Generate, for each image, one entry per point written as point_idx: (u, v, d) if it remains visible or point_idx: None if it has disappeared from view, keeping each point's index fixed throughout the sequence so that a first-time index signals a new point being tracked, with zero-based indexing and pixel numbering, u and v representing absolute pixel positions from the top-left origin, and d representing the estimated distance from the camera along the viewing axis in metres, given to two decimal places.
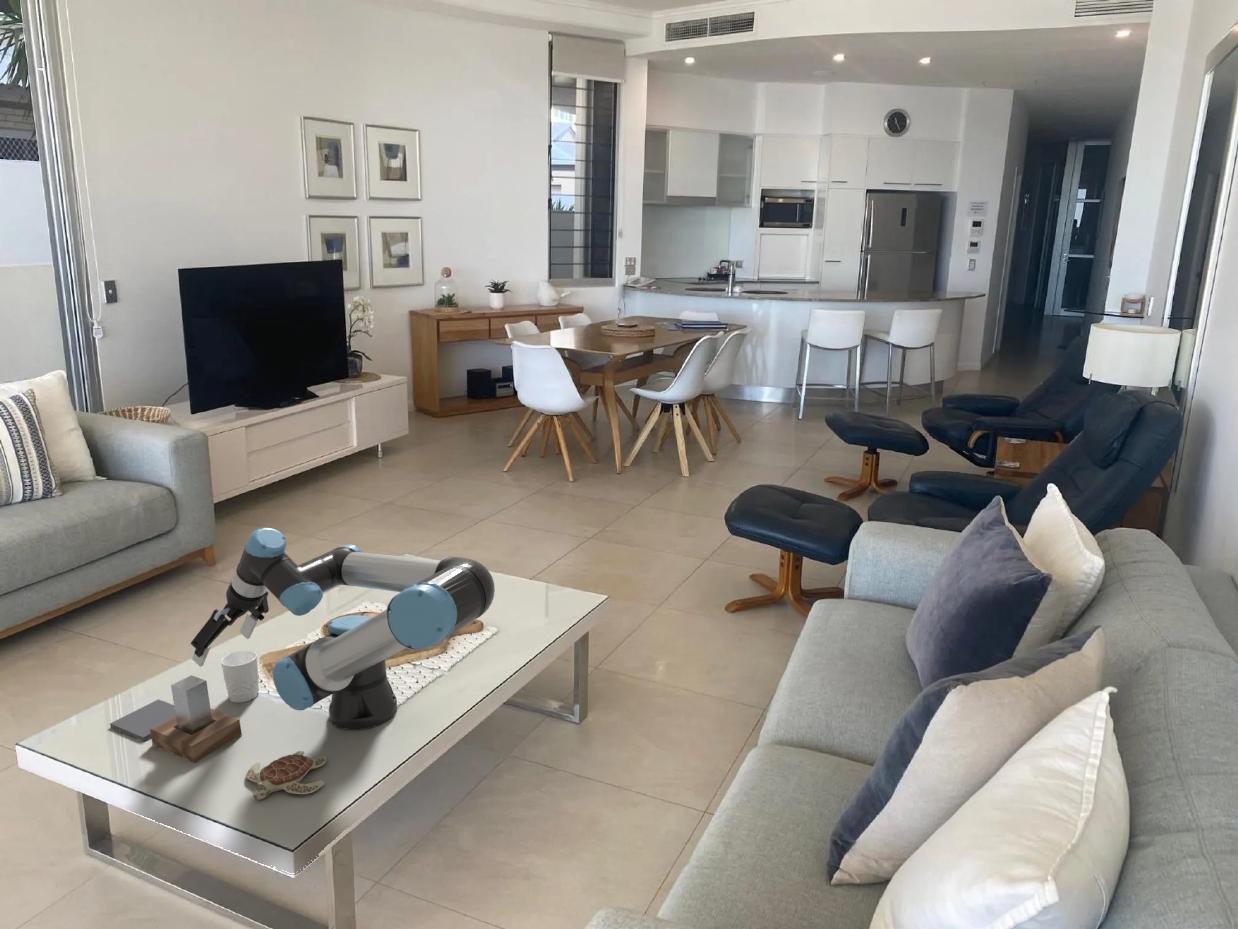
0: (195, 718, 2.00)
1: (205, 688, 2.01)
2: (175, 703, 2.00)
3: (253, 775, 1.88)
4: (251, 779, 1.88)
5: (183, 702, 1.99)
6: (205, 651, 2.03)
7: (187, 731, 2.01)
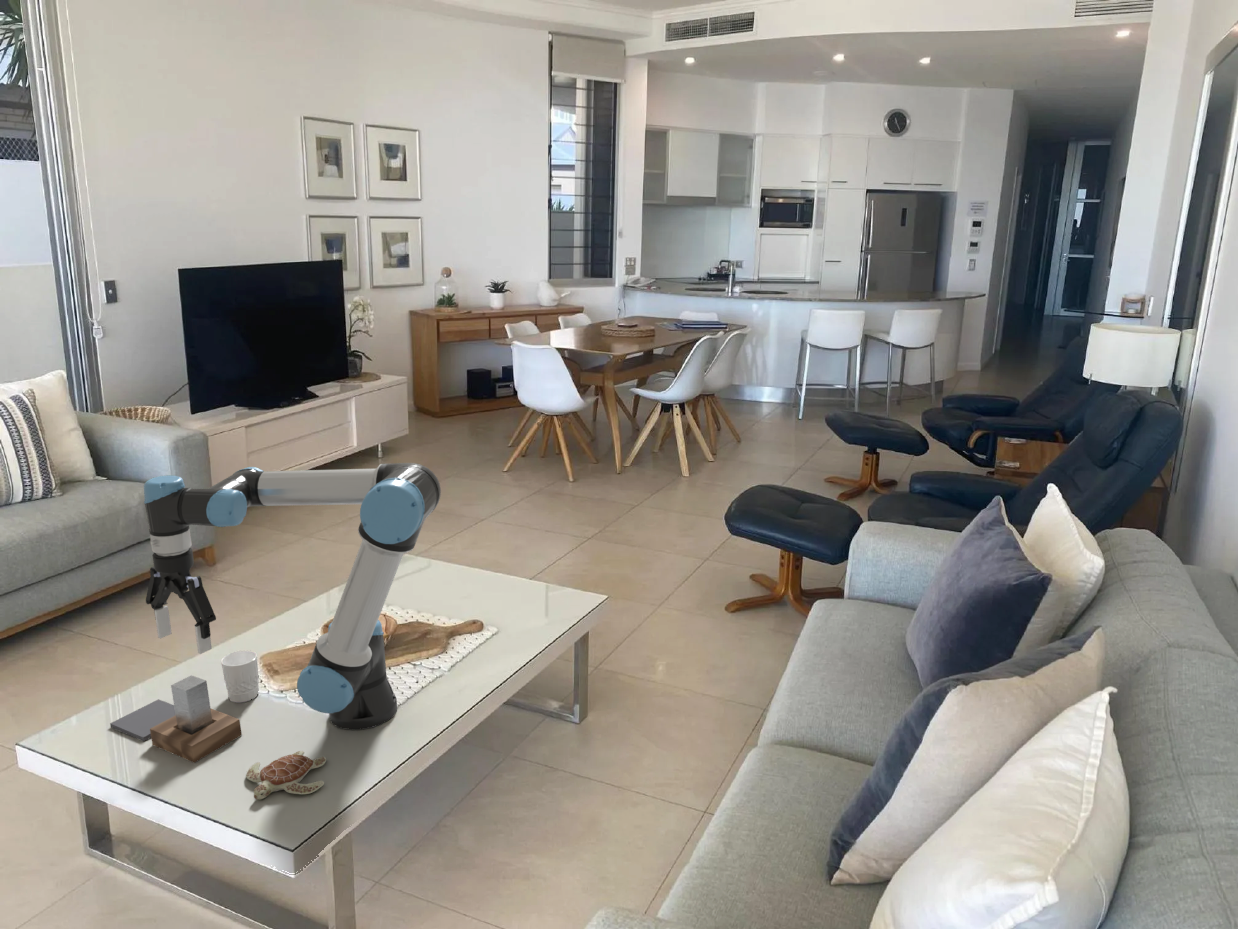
0: (195, 718, 2.00)
1: (205, 688, 2.01)
2: (175, 703, 2.00)
3: (253, 775, 1.88)
4: (251, 779, 1.88)
5: (183, 702, 1.99)
6: None
7: (187, 731, 2.01)
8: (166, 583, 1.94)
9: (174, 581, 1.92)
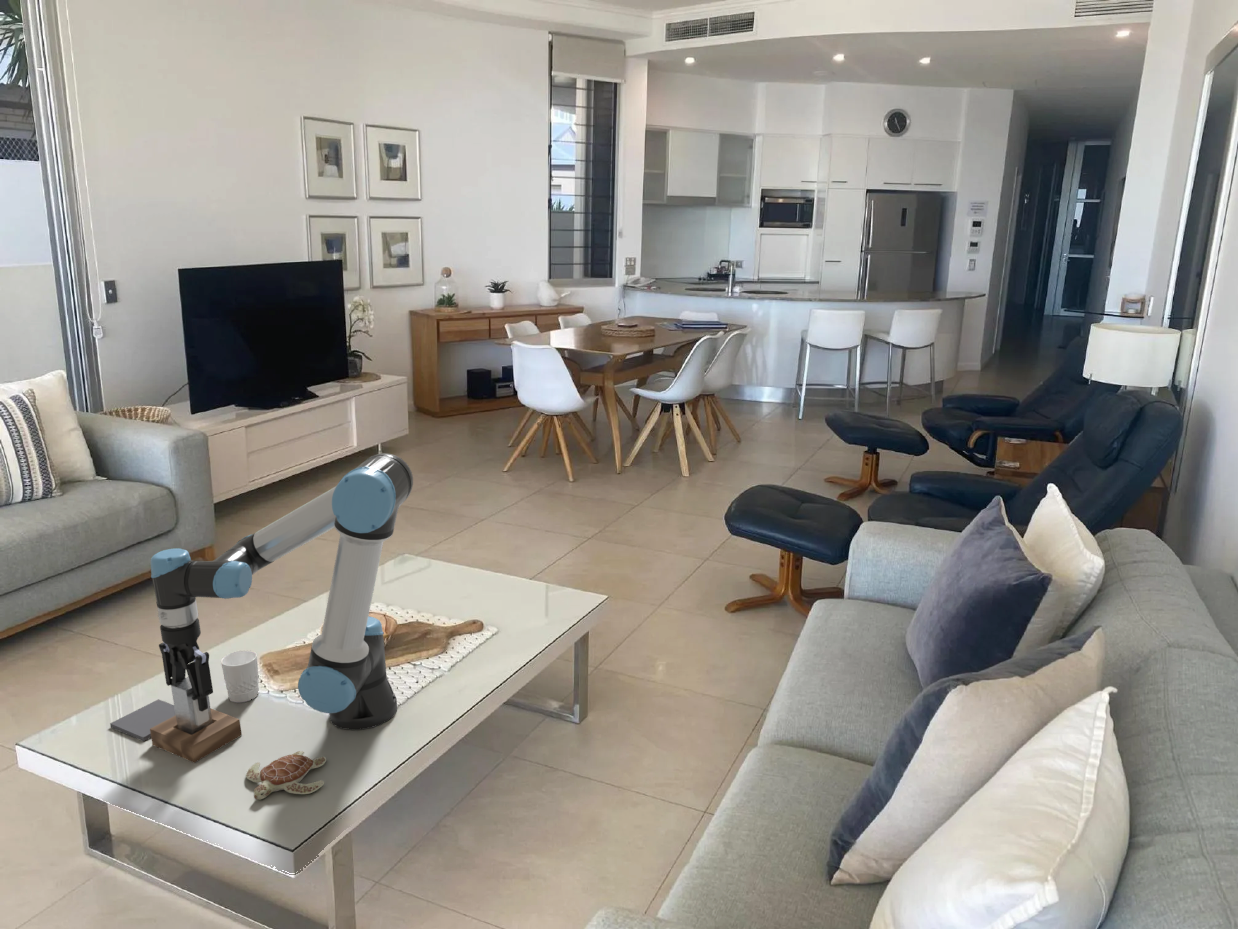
0: None
1: None
2: (175, 703, 2.00)
3: (253, 775, 1.88)
4: (251, 779, 1.88)
5: (182, 702, 1.99)
6: None
7: (187, 731, 2.01)
8: (175, 653, 1.97)
9: (182, 653, 1.96)
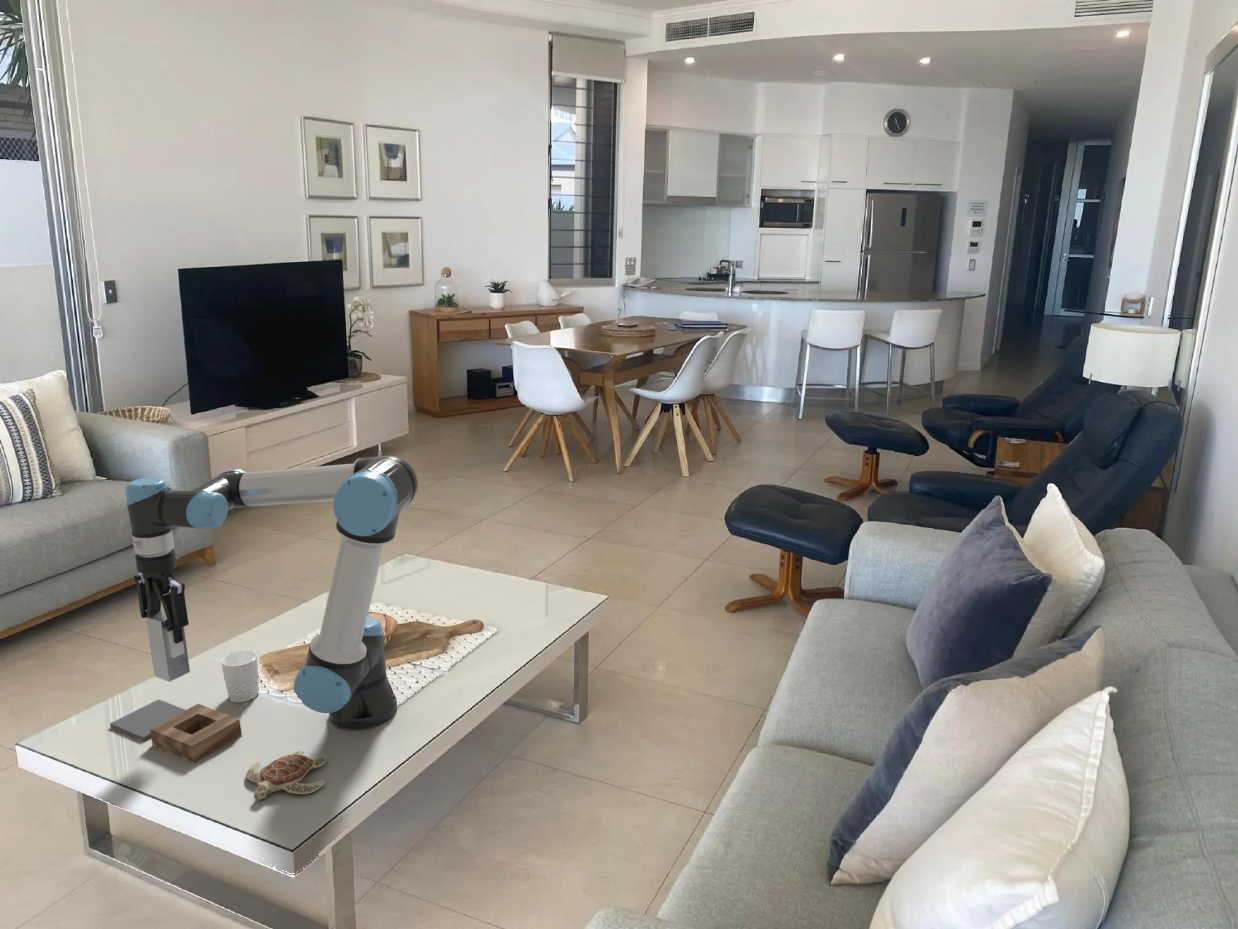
0: None
1: None
2: (150, 635, 1.98)
3: (253, 775, 1.88)
4: (251, 779, 1.88)
5: (157, 634, 1.97)
6: None
7: (162, 664, 1.99)
8: (150, 584, 1.95)
9: (158, 583, 1.94)
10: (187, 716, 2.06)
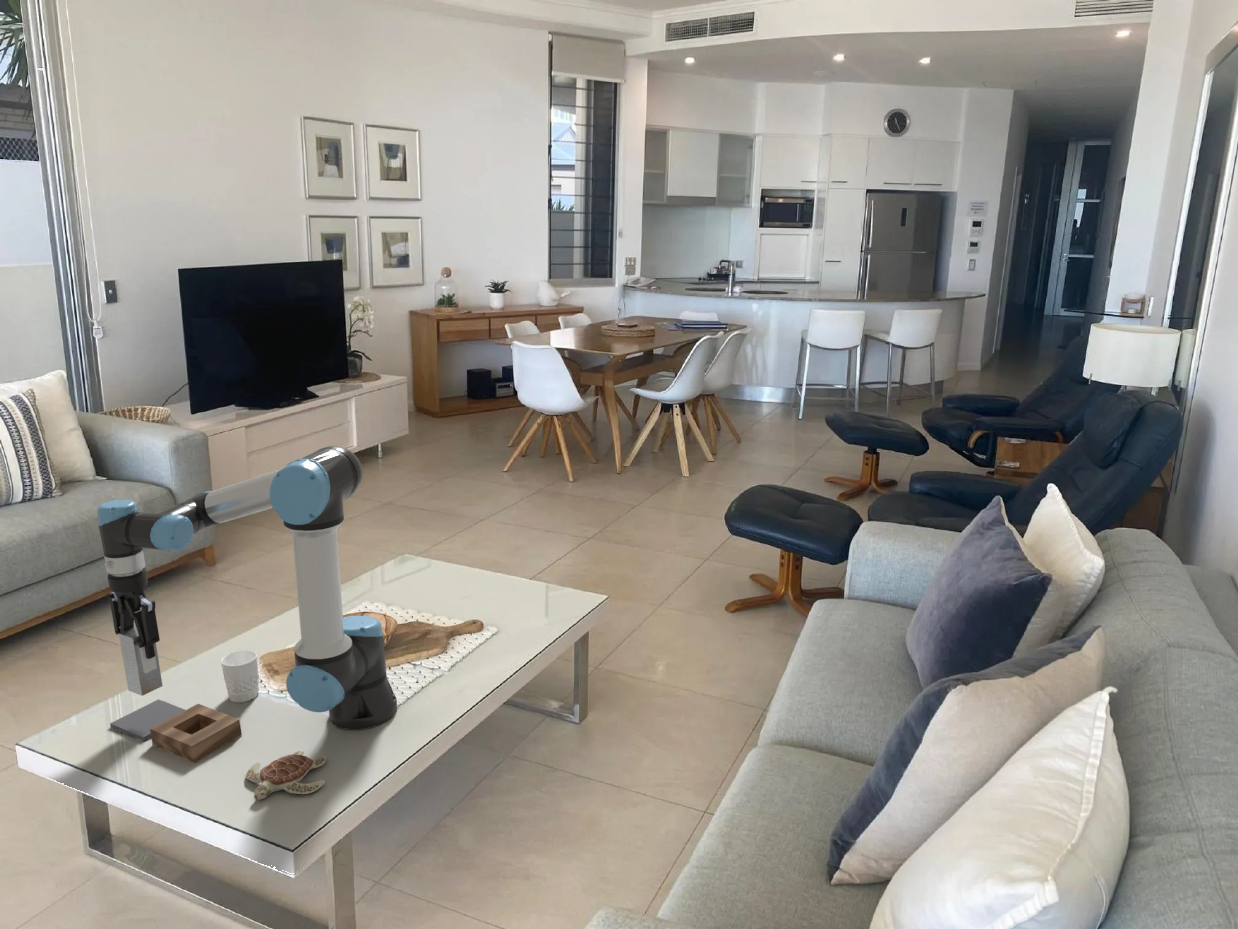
0: (142, 666, 2.05)
1: None
2: (123, 651, 2.06)
3: (253, 775, 1.88)
4: (251, 779, 1.88)
5: (130, 650, 2.04)
6: None
7: (134, 678, 2.06)
8: (122, 602, 2.03)
9: (129, 601, 2.01)
10: (187, 716, 2.06)
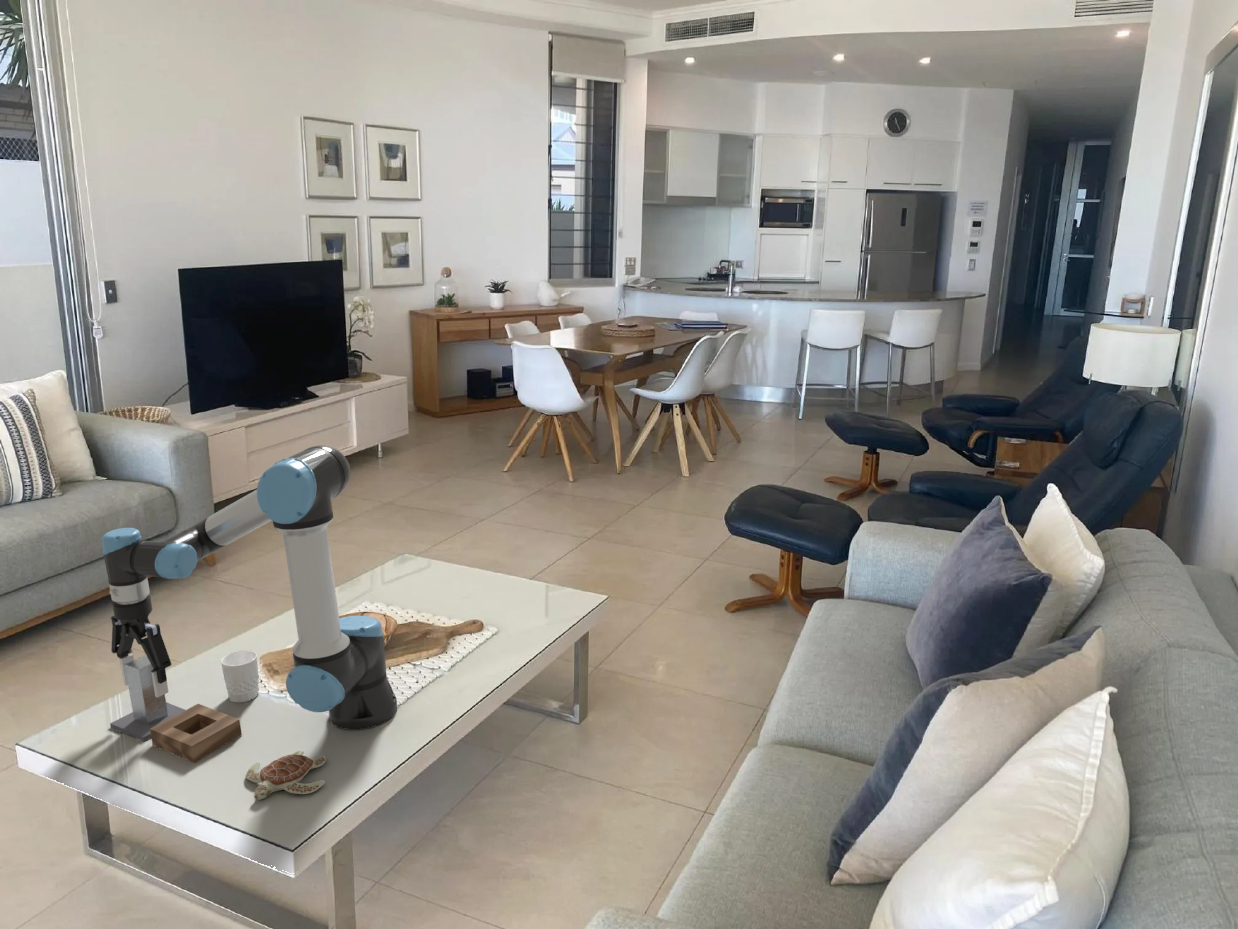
0: (148, 696, 2.07)
1: None
2: (129, 681, 2.08)
3: (253, 775, 1.88)
4: (251, 779, 1.88)
5: (135, 680, 2.06)
6: None
7: (140, 708, 2.08)
8: (126, 629, 2.05)
9: (134, 628, 2.03)
10: (187, 716, 2.06)
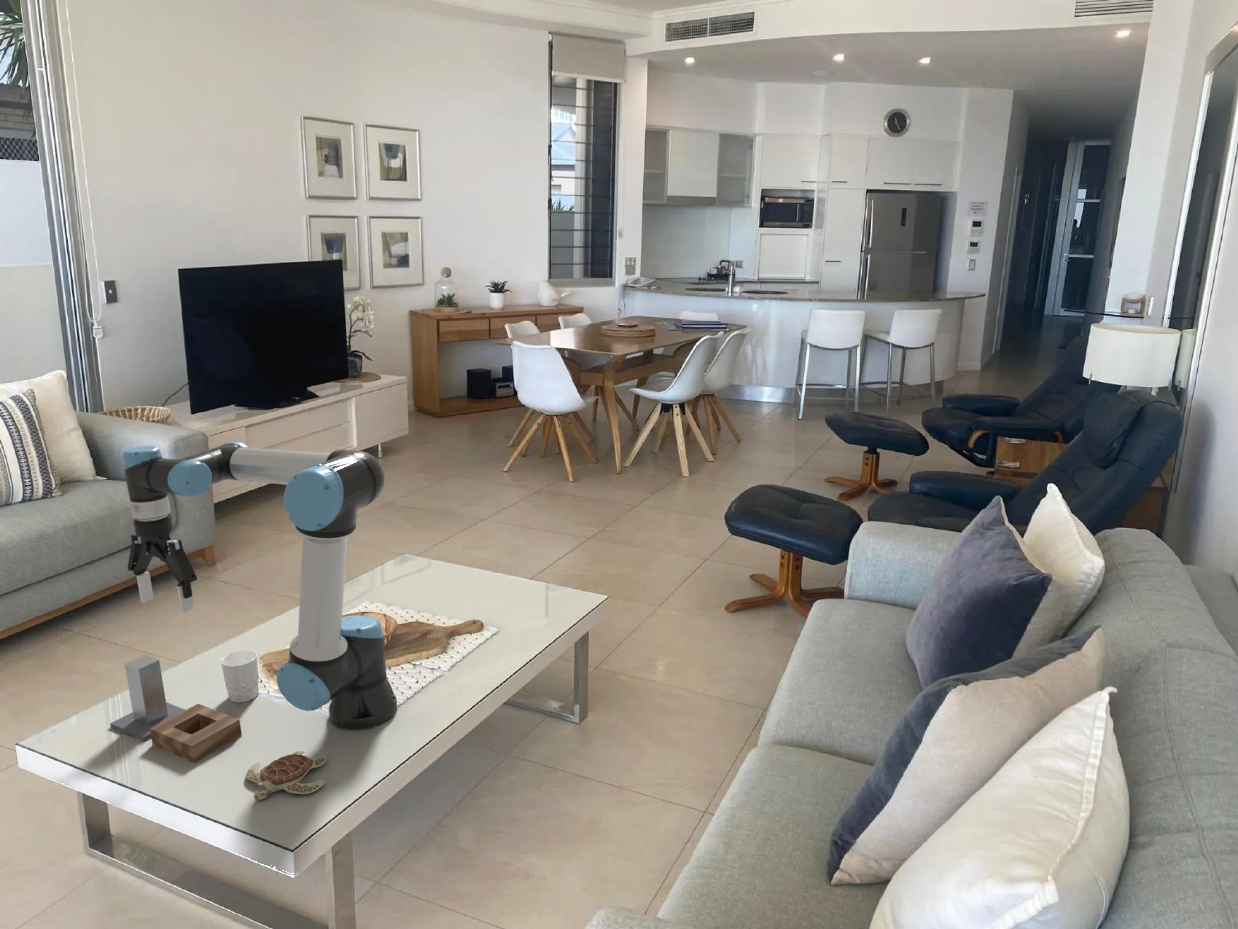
0: (148, 696, 2.07)
1: (158, 667, 2.09)
2: (129, 681, 2.08)
3: (253, 775, 1.88)
4: (251, 779, 1.88)
5: (135, 680, 2.06)
6: None
7: (140, 708, 2.08)
8: (147, 548, 2.06)
9: (155, 545, 2.04)
10: (187, 716, 2.06)
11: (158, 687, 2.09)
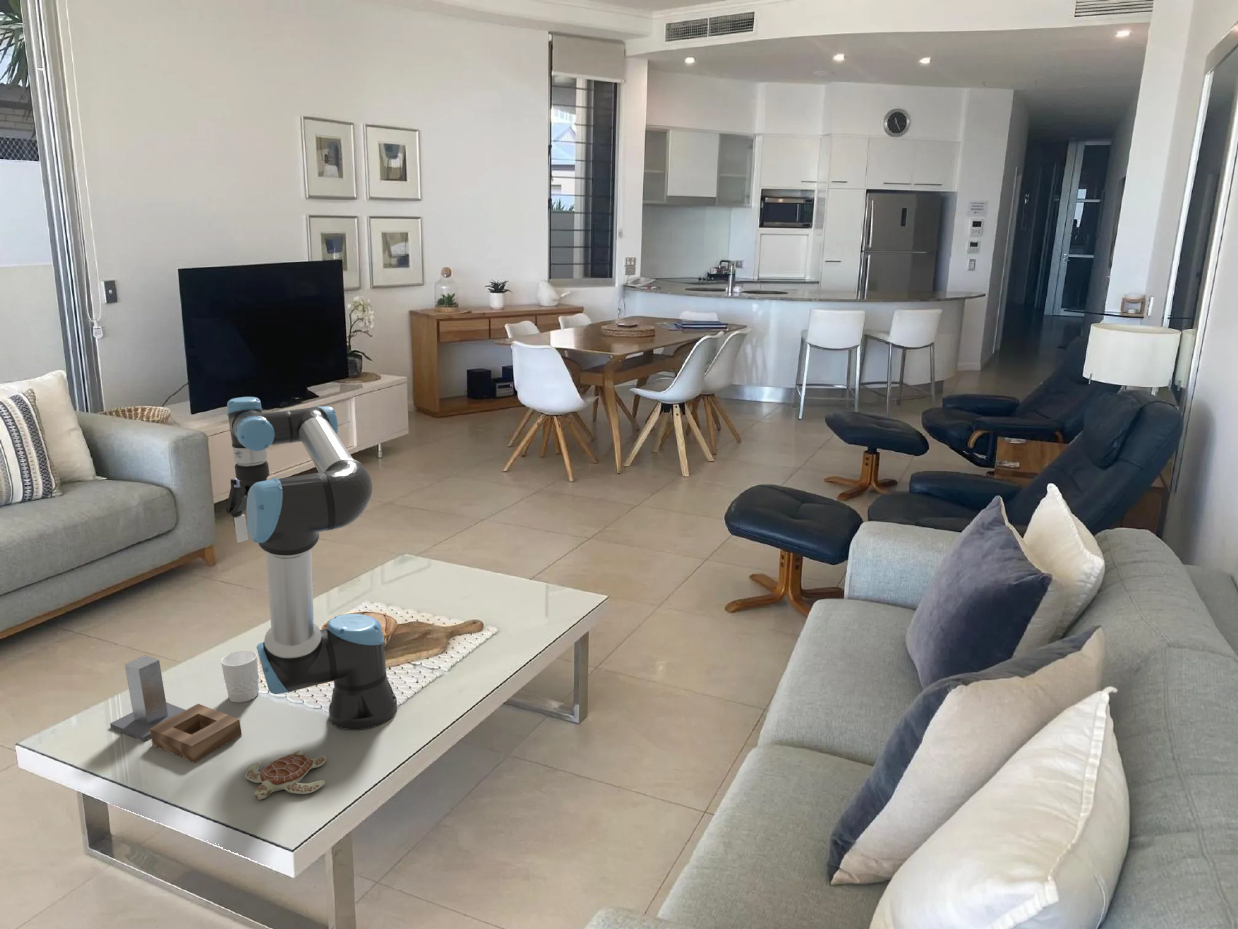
0: (148, 696, 2.07)
1: (158, 667, 2.09)
2: (129, 681, 2.08)
3: (253, 775, 1.88)
4: (251, 779, 1.88)
5: (135, 680, 2.06)
6: None
7: (140, 708, 2.08)
8: (246, 491, 2.23)
9: None
10: (187, 716, 2.06)
11: (158, 687, 2.09)
